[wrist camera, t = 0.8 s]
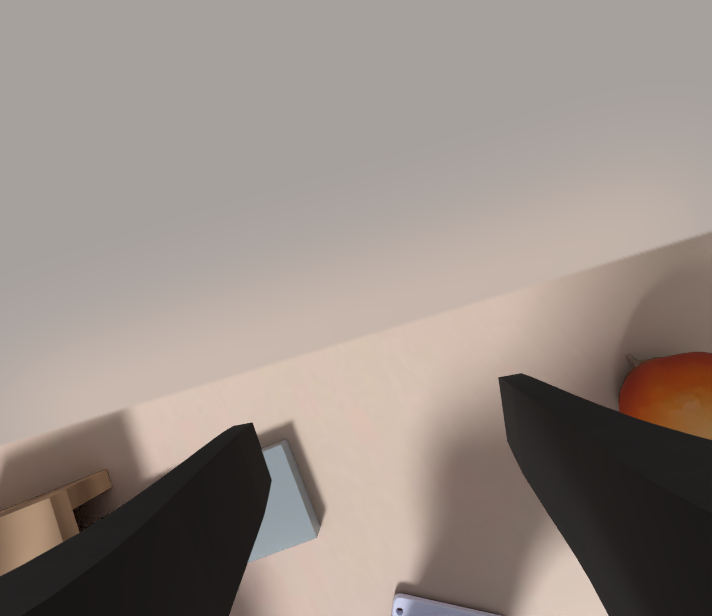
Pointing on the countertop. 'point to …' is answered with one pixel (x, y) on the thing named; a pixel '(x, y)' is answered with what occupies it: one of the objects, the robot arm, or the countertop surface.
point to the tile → (284, 506)
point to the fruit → (671, 392)
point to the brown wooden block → (44, 520)
